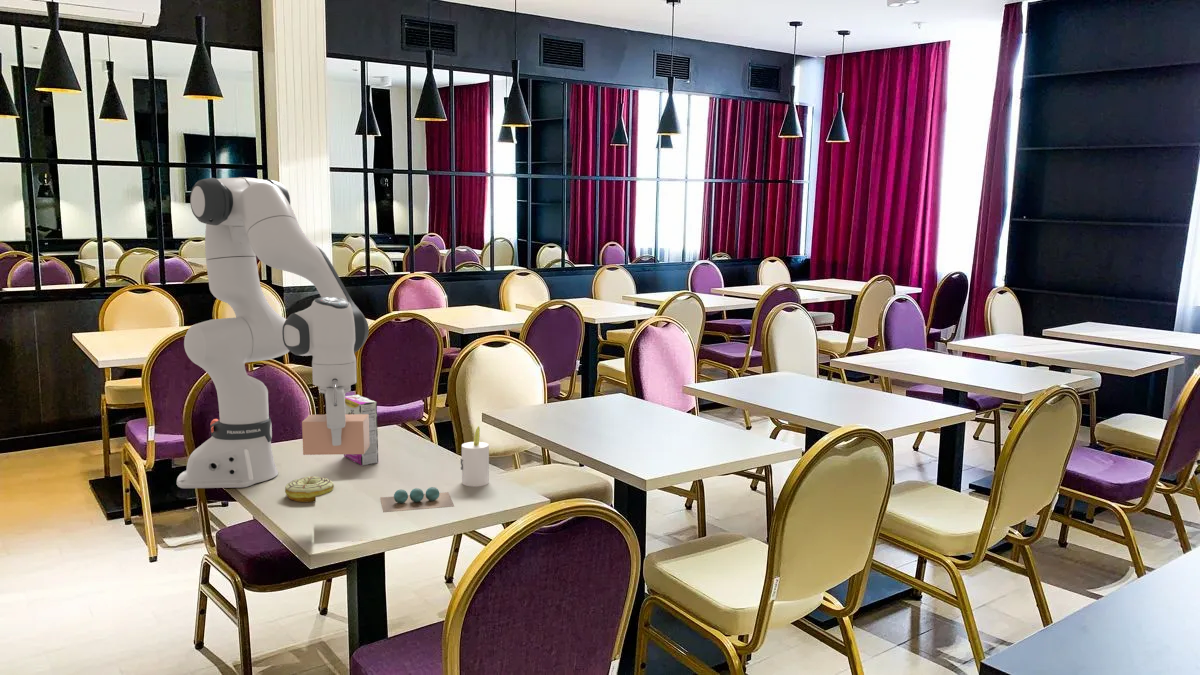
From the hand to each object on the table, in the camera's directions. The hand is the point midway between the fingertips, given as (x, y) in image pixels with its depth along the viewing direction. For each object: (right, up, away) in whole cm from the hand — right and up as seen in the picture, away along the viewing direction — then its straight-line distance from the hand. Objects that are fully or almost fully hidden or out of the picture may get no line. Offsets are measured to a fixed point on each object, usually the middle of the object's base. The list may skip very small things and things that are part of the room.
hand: (336, 439), depth 188 cm
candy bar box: (-7, -11, +44) cm, 46 cm away
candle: (+26, -14, +22) cm, 37 cm away
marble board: (+16, -16, +7) cm, 23 cm away
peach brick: (0, -2, 0) cm, 2 cm away
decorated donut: (-10, -15, +15) cm, 23 cm away
